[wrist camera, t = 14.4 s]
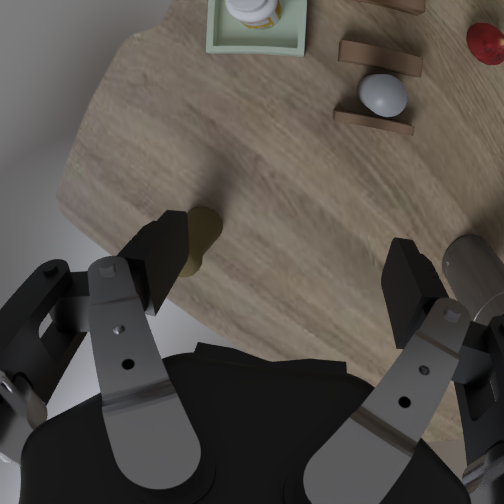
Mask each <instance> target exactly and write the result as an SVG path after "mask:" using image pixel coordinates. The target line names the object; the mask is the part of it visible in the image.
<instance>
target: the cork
mask: <svg viewBox="0 0 504 504" xmlns="http://www.w3.org/2000/svg"><path fill="white" fill-rule="evenodd" d="M187 217H188V232H189V256H188V260H187V262H186V264H185V265H184V267H183V269H182V271H181V272H180V274H179V276H178V277H189V276H192V275H194V274H195V273H196V272H197V271H198V270H199V268H200V267H201V265H202V258H203V255H204V254H205V252H206V251H207V250H208V249H209V248H210V247H211V245H212V244H213V243H214V242H215V241H216V240H217V239H218V237H219V236H220V234H221V232H222V227H223V226H222V221H221V219H220V217H219V215H218V214H217V213H215V212H214V211H213V210H211V209H209V208H206V207H196V208H193V209H191V210H190V211H189V212H188V213H187Z"/></svg>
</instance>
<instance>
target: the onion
mask: <svg viewBox="0 0 504 504" xmlns="http://www.w3.org/2000/svg"><path fill="white" fill-rule="evenodd" d="M466 40H467V45H468V47H469V49H470V51H471V53H472V54H473V55H474V56H475V57H476V58H477V59H478V60H479V61H480V62H482V63H485V64H487V65H498V64H500V63H501V62H503V61H504V35H503V34H502V33H501V32H500V31H499V30H498V29H497V28H496V27H494V26H492V25H490V24H488V23H476V24H474V25H472V26H471V27H470V28H469V30H468V32H467V39H466Z"/></svg>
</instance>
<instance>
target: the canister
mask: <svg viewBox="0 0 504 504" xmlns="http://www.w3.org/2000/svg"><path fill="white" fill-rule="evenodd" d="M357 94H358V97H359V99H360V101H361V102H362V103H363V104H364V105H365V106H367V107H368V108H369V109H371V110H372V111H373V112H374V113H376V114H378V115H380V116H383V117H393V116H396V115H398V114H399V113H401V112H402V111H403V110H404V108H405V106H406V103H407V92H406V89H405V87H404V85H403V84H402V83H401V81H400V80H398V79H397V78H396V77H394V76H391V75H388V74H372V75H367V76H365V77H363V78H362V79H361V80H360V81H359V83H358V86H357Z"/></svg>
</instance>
